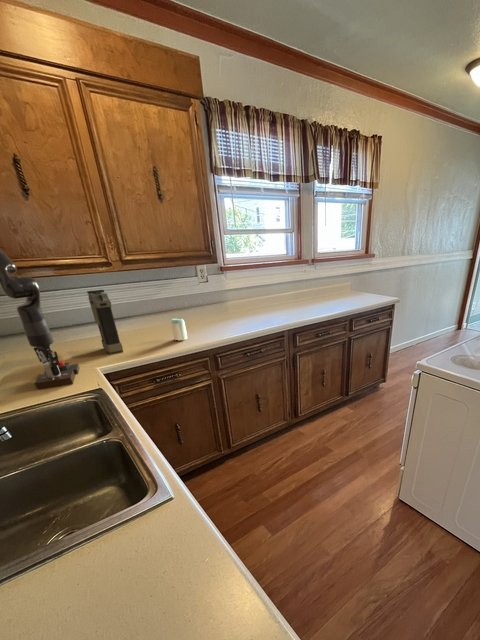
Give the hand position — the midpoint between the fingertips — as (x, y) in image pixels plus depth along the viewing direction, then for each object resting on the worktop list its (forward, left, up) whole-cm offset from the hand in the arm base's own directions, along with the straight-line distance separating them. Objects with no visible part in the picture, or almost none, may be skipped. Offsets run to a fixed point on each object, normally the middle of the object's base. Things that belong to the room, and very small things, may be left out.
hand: (53, 373), depth 132 cm
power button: (+1, +11, -1) cm, 11 cm away
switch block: (+1, +11, -4) cm, 12 cm away
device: (+21, +37, -4) cm, 43 cm away
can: (+56, +40, -4) cm, 69 cm away
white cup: (0, 0, -1) cm, 1 cm away
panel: (0, 0, -4) cm, 4 cm away
